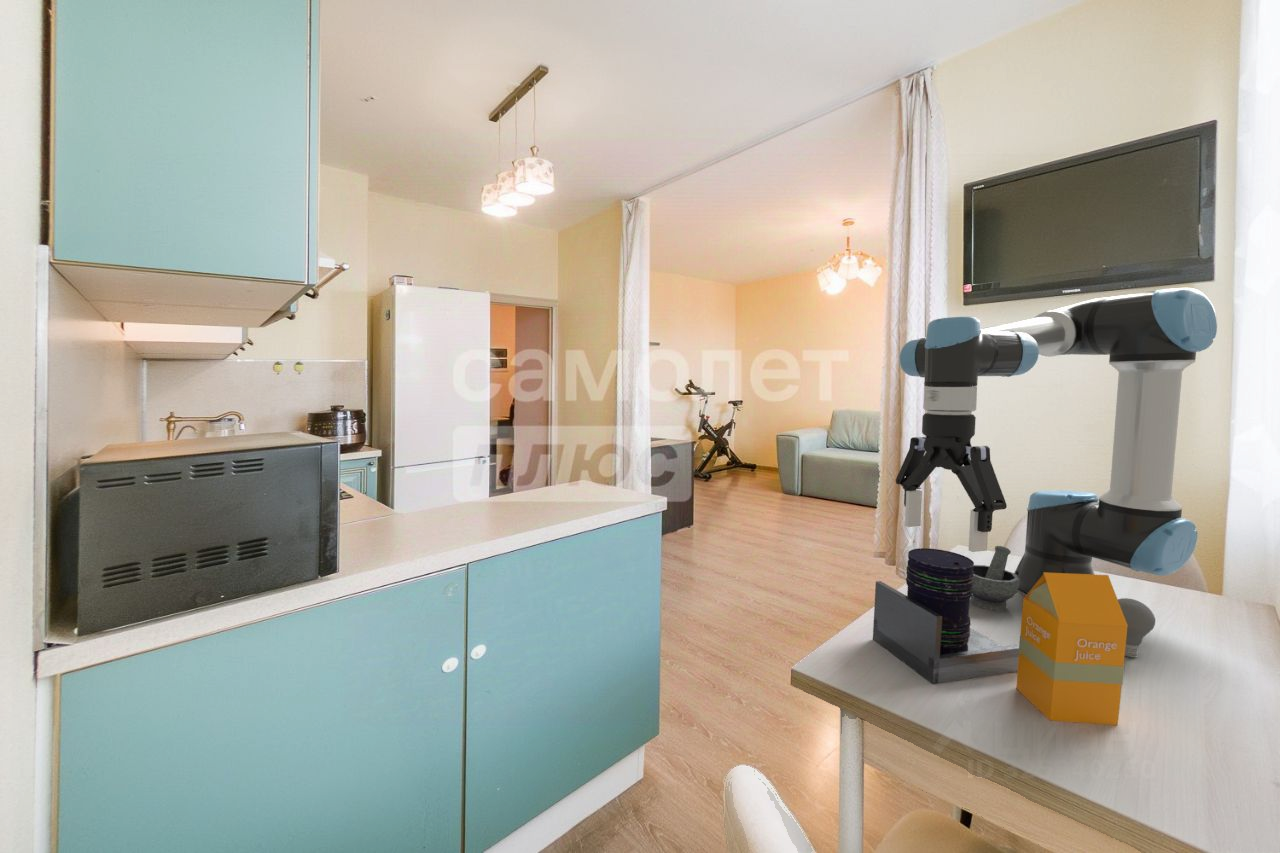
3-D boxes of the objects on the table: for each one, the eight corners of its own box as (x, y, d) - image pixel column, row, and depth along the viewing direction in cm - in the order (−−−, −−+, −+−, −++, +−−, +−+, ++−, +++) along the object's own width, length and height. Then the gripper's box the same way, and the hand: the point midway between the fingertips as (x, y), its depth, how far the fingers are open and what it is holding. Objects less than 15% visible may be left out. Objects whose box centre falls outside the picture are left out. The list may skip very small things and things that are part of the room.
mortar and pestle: (1002, 618, 101) (1007, 560, 100) (953, 601, 109) (956, 547, 108) (1027, 605, 107) (1031, 550, 106) (978, 590, 115) (982, 538, 114)
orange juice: (1015, 687, 78) (1025, 562, 76) (1076, 691, 77) (1088, 565, 75) (1050, 721, 70) (1062, 583, 68) (1119, 726, 69) (1133, 586, 67)
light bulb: (1138, 649, 89) (1143, 595, 88) (1159, 667, 84) (1166, 609, 83) (1096, 643, 91) (1101, 590, 90) (1114, 660, 86) (1120, 604, 85)
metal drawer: (950, 629, 96) (953, 574, 95) (1020, 670, 82) (1025, 606, 81) (872, 639, 92) (875, 581, 91) (932, 684, 79) (936, 616, 78)
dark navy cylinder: (889, 633, 89) (894, 552, 88) (928, 623, 93) (932, 545, 92) (942, 662, 80) (948, 572, 79) (982, 650, 84) (989, 563, 83)
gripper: (877, 408, 94) (873, 519, 96) (999, 418, 70) (990, 565, 72) (911, 407, 96) (907, 516, 98) (1041, 417, 72) (1032, 561, 74)
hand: (942, 537), depth 85 cm, fingers open, 13 cm apart
